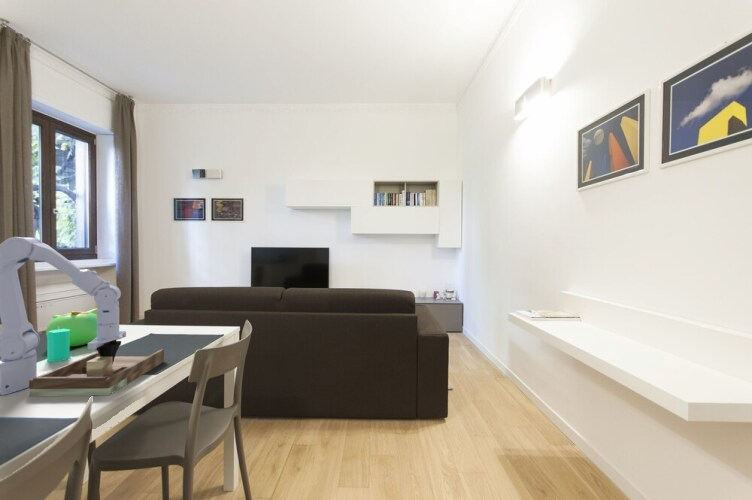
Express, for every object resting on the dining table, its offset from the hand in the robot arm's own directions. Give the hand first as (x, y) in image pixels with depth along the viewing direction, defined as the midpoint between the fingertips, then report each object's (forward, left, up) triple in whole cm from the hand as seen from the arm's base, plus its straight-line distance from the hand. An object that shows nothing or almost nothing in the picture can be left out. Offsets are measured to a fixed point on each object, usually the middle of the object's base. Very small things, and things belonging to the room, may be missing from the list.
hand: (108, 365), depth 111 cm
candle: (+6, +33, -4) cm, 33 cm away
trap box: (-1, 0, -3) cm, 4 cm away
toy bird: (+20, +46, -4) cm, 50 cm away
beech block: (-4, -1, -1) cm, 4 cm away
